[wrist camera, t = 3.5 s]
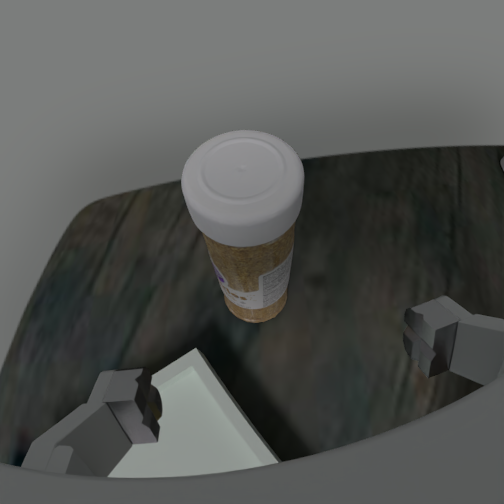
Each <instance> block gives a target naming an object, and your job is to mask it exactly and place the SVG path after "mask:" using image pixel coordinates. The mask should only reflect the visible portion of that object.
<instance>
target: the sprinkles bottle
mask: <svg viewBox="0 0 504 504" xmlns="http://www.w3.org/2000/svg"><path fill="white" fill-rule="evenodd" d="M181 184H182V191H183V195H184V198H185V201H186V204H187V207H188V210H189V212H190V215H191V217H192V219H193V221H194V223H195V224H196V226H197V227H198V228H199V229H200V230H201V231H202V233H203V236H204V239H205V242H206V244H207V248H208V250H209V255H210V258H211V261H212V264H213V266H214V269H215V272H216V274H217V277H218V280H219V283H220V286H221V289H222V291H223V292H224V298H225V302H226V305H227V306H228V308H229V310H230V311H231V312H232V313H233V314H234V315H235V316H236V317H238V318H240V319H242V320H244V321H247V322H253V323H258V322H264V321H267V320H269V319H271V318H274V317H275V316H276V315H277V314H278V313H279V312H280V311H281V310H282V309H283V307H284V305H285V303H286V300H287V286H288V282H289V276H290V269H291V262H292V255H293V247H294V228H295V221H296V219H297V217H298V215H299V212H300V209H301V205H302V198H303V189H304V169H303V164H302V162H301V160H300V158H299V156H298V155H297V153H296V152H295V150H294V149H293V148H292V147H291V146H290V145H289V144H287V143H286V142H285V141H283V140H282V139H280V138H278V137H276V136H274V135H272V134H269V133H265V132H261V131H256V130H255V131H254V130H237V131H231V132H226V133H223V134H220V135H217V136H215V137H213V138H211V139H209V140H208V141H206V142H204V143H203V144H202V145H200V146H199V147H198V148H197V149H196V150H195V151H194V152H193V153H192V154H191V156H190V157H189V158H188V160H187V162H186V164H185V166H184V169H183V173H182V179H181Z"/></svg>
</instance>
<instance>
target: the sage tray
mask: <svg viewBox="0 0 504 504" xmlns="http://www.w3.org/2000/svg"><path fill="white" fill-rule="evenodd" d="M151 384H152V385H153V386H155V387H156V388H157V389H158V391H159V393H160V396H161V400H162V408H163V411H162V417H161V418H160V419H159V420H158V423H159V425H160V432H159V439H158V442H157V443H146V444H132V445H133V446H132V447H131V448H130V450H129V451H128V452H127V453H126V455H125V456H124V457H123V458H122V460H121V461H120V462H119V463H118V464H117V466H116V467H115V468H114V469H113V471H112V472H111V473H110V474H109V475H108V477H119V478H152V477H175V476H190V475H201V474H211V473H219V472H227V471H234V470H241V469H247V468H253V467H259V466H265V465H270V464H275V463H280V462H282V461H281V460H280V458H279V457H278V456H277V455H276V453H275V452H274V451H273V450H272V448H271V447H270V446H269V445H268V443H267V442H266V441H265V439H264V438H263V437H262V436H261V434H260V433H259V432H258V430H257V429H256V428H255V426H254V425H253V424H252V422H251V421H250V420H249V418H248V417H247V416H246V414H245V413H244V411H243V410H242V409H241V407H240V406H239V405H238V403H237V402H236V400H235V399H234V398H233V396H232V395H231V393H230V392H229V391H228V389H227V388H226V386H225V385H224V383H223V382H222V381H221V379H220V378H219V376H218V375H217V373H216V372H215V370H214V369H213V367H212V366H211V364H210V363H209V361H208V360H207V358H206V357H205V355H204V354H203V353H202V352H200V351H199V350H198V349H197V348H195V349H193V350H192V351H190V352H189V353H187V354H185V355H184V356H182V357H181V358H179V359H178V360H176V361H174V362H173V363H171V364H170V365H168V366H167V367H165V368H163V369H162V370H160V371H159V372H157V373H155V374H154V375H152V381H151Z"/></svg>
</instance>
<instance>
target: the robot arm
mask: <svg viewBox="0 0 504 504" xmlns="http://www.w3.org/2000/svg"><path fill="white" fill-rule="evenodd" d="M500 164H501V166H502V169H503V171H504V157H503V158H502V159H501V160H500ZM404 321H405V322H406V324H407V325H408V326H407V327H406V329H405V331H404V332H403V342H404V347H405V350H406V352H407V354H408V355H409V356H410V358H411V359H414V360H417V361H419V362H418V367H419V368H420V369H421V370H422V372H423V373H424V374H425V375H426V376H427V377H428V378H430V377H432V376H435V375H437V374H440V373H442V372H444V371H447V370H449V369H450V370H449V371H451V372H454V373H456V374H458V375H461V376H463V377H465V378H468V379H470V380H472V381H475V382H477V383H480V384H482V385H484V386H483V387H481V388H480V389H478V390H476V391H474V392H472V393H470V394H469V395H467V396H465V397H463V398H461V399H459V400H457V401H455V402H453V403H451V404H449V405H447V406H445V407H443V408H441V409H439V410H437V411H434V412H432V413H430V414H428V415H426V416H423V417H421V418H419V419H416V420H414V421H412V422H409V423H407V424H404V425H402V426H399V427H397V428H394V429H392V430H389V431H386V432H384V433H381V434H378V435H375V436H373V437H370V438H367V439H364V440H361V441H358V442H355V443H352V444H349V445H345V446H342V447H339V448H335V449H332V450H329V451H325V452H321V453H318V454H314V455H310V456H306V457H302V458H298V459H293V460H289V461H284V462H280V463H275V464H270V465H265V466H259V467H253V468H247V469H241V470H234V471H227V472H219V473H211V474H201V475H190V476H175V477H152V478H119V477H108V475H109V474H110V473H111V472H112V471H113V469H114V468H115V467H116V466H117V464H118V463H119V462H120V461H121V460H122V458H123V457H124V456H125V455H126V453H127V452H128V451H129V450H130V448H131V447H132V446H133V445H132V444H146V443H157V442H158V439H159V432H160V425H159V423H158V420H159V419H160V418H161V417H162V411H163V408H162V400H161V396H160V393H159V391H158V389H157V388H156V387H155V386H153V385H152V384H151V381H152V376H151V374H150V372H149V369H148V368H146V367H139V368H129V369H118V370H108V371H102V372H101V373H100V374H99V377H98V379H97V381H96V383H95V386H94V388H93V390H92V392H91V395H90V397H89V399H88V402H87V404H82V405H80V406H79V407H78V408H77V409H75V410H74V411H73V412H71V413H70V414H69V415H67V416H66V417H65V418H64V419H62V420H61V421H60V422H58V423H57V424H56V425H54V426H53V427H52V428H50V429H49V430H48V431H46V432H45V433H44V434H43V435H41V436H40V437H39V438H37V439H36V440H35V441H33V442H32V444H31V446H30V449H29V451H28V453H27V455H26V457H25V459H24V462H23V464H22V466H21V467H17V466H12V465H7V464H3V463H0V504H504V319H500V318H495V317H490V316H484V315H479V314H475V315H472V314H471V313H469V312H468V311H467V310H465V309H464V308H463V307H461V306H460V305H459V304H457V303H456V302H454V301H453V300H452V299H450V298H449V297H447V296H441V297H438V298H436V299H433V300H431V301H428V302H426V303H423V304H420V305H417V306H414V307H411V308H408V309H406V311H405V316H404Z"/></svg>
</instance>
